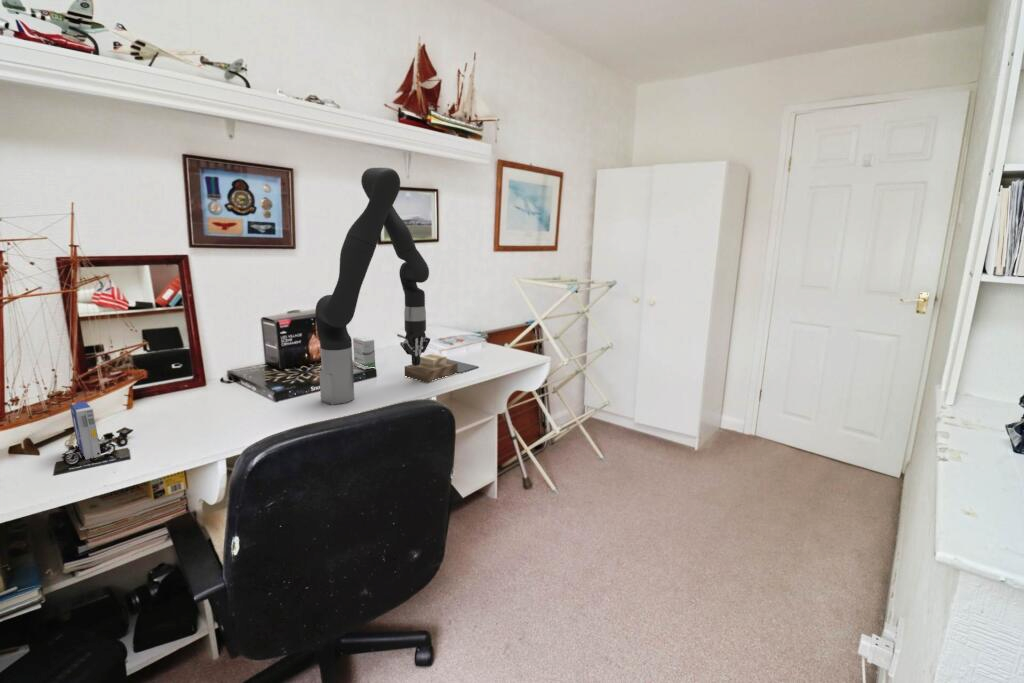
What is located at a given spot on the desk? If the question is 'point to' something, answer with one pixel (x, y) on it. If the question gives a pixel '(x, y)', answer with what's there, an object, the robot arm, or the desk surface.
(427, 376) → the walnut stand
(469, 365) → the charcoal mat
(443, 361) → the maple block
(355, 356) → the ink box
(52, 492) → the desk surface
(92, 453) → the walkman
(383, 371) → the desk surface
